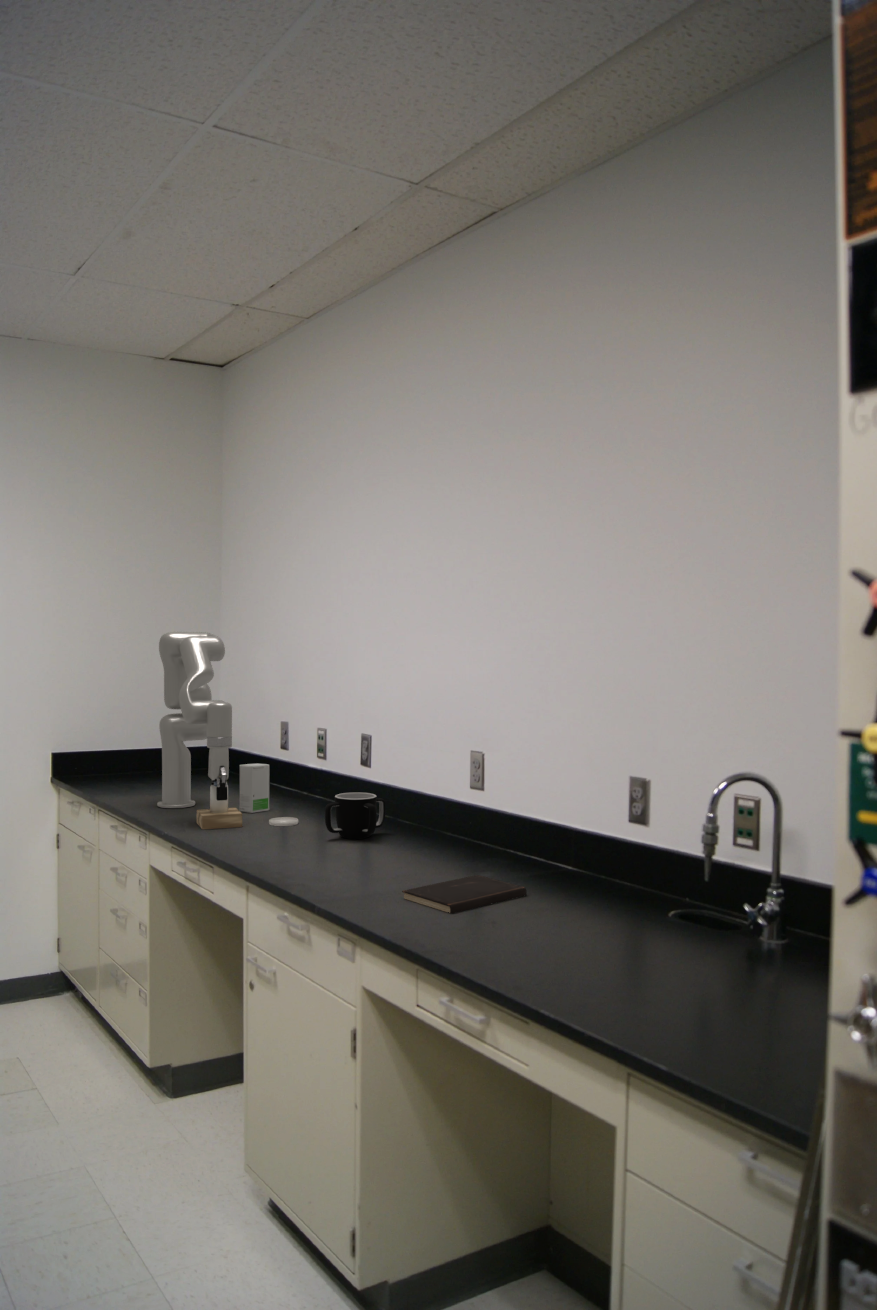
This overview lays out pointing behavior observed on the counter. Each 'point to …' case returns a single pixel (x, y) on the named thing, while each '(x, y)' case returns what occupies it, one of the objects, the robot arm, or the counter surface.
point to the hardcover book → (464, 893)
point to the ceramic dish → (283, 821)
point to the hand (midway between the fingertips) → (219, 797)
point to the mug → (355, 815)
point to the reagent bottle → (214, 803)
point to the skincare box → (254, 788)
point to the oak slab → (219, 819)
